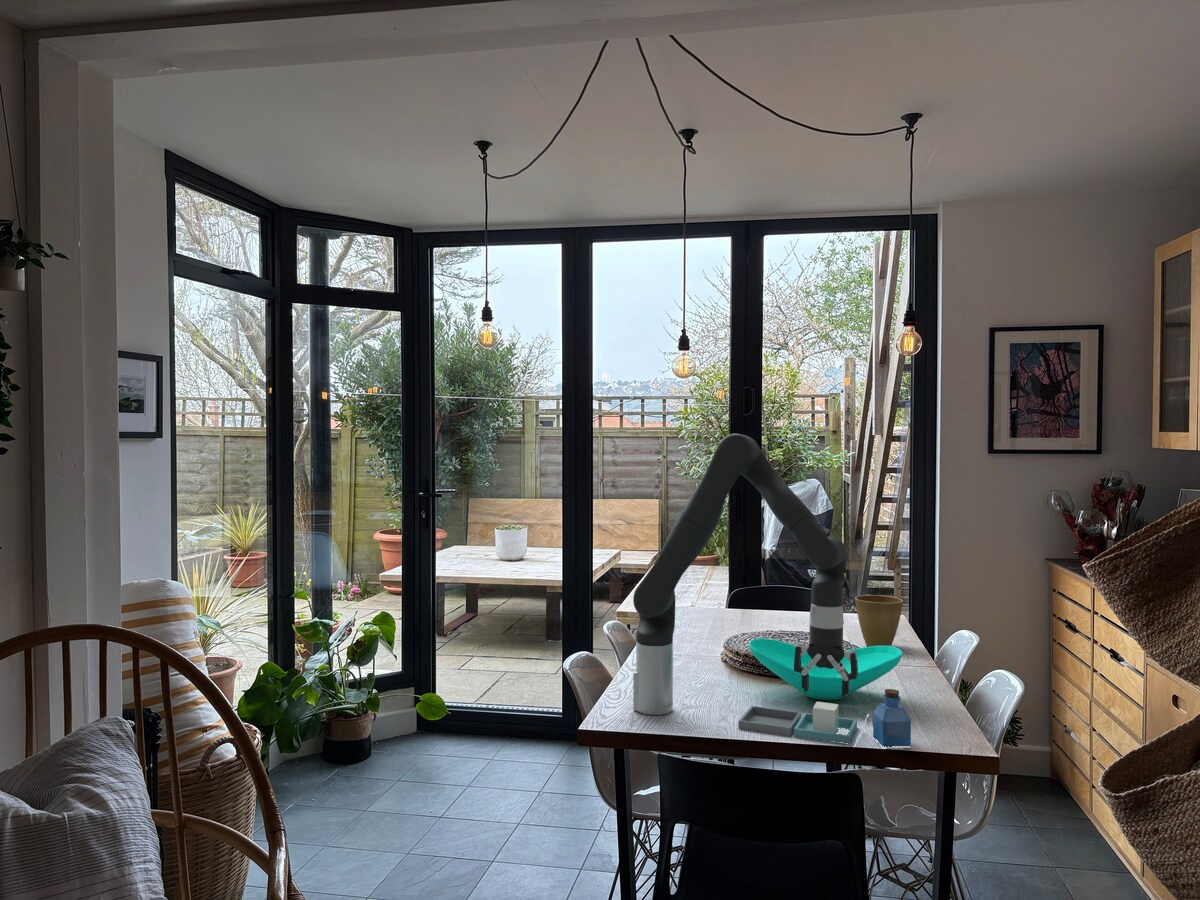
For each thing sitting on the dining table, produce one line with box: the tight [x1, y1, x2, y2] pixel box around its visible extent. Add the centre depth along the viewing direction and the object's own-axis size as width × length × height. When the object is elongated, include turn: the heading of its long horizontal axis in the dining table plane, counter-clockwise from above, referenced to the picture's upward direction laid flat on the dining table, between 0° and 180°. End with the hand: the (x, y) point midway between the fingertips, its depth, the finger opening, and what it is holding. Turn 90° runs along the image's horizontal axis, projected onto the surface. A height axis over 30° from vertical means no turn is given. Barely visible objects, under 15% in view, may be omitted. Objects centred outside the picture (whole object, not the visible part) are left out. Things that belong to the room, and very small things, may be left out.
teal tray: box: [793, 712, 858, 745], centre depth 197 cm, size 12×12×2 cm
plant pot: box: [854, 594, 904, 647], centre depth 278 cm, size 15×15×16 cm
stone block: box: [812, 701, 839, 734], centre depth 197 cm, size 5×5×6 cm
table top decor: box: [748, 637, 904, 701], centre depth 226 cm, size 40×28×13 cm
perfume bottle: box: [872, 688, 912, 747], centre depth 191 cm, size 6×6×12 cm
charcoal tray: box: [737, 705, 802, 737], centre depth 203 cm, size 12×12×2 cm
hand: (825, 693), depth 197 cm, fingers open, 8 cm apart
